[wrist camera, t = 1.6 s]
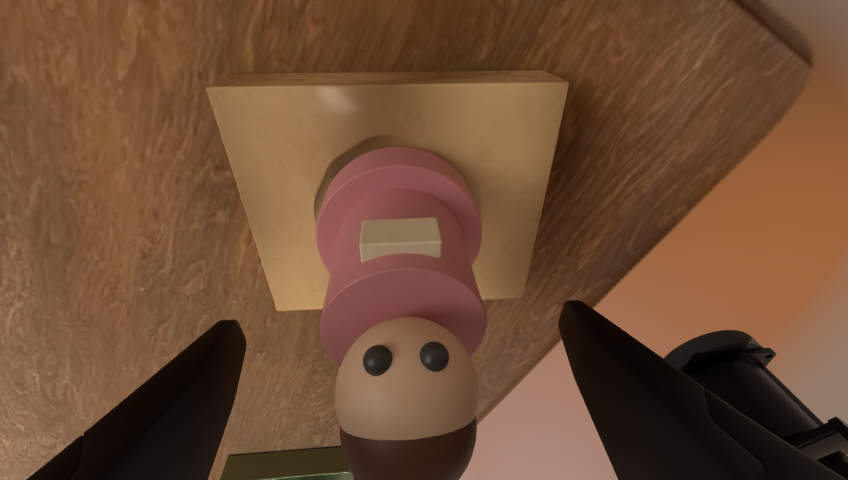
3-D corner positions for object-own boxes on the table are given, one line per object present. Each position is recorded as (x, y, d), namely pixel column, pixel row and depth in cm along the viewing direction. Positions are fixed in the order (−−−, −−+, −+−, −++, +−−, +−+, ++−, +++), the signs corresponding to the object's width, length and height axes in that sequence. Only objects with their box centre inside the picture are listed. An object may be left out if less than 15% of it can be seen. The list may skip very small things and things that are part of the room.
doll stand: (543, 70, 14) (570, 82, 12) (509, 266, 20) (523, 298, 18) (233, 73, 13) (204, 86, 11) (289, 277, 19) (277, 311, 17)
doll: (467, 272, 16) (542, 533, 8) (334, 279, 16) (279, 559, 8) (479, 143, 13) (623, 375, 5) (310, 148, 12) (173, 407, 5)
